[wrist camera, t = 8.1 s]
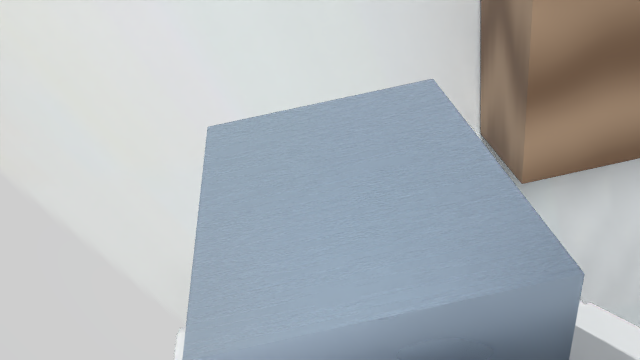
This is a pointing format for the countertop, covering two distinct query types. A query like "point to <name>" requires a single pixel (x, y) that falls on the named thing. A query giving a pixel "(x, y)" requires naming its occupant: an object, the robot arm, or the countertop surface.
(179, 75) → the countertop surface
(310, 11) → the countertop surface
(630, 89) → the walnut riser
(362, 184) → the block
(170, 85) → the countertop surface
